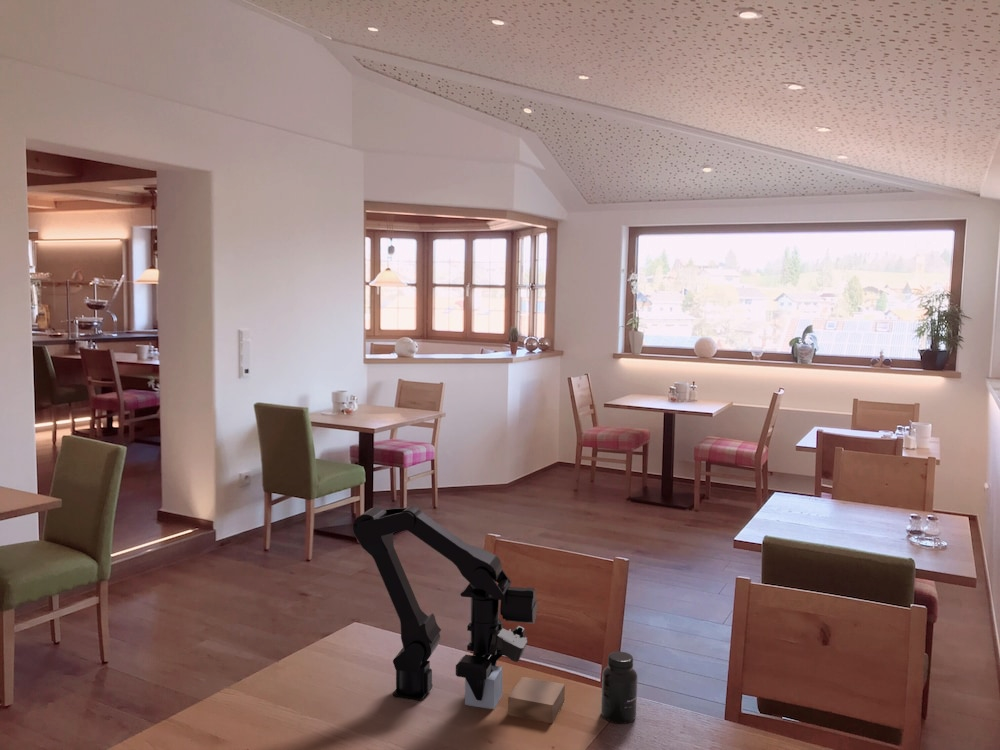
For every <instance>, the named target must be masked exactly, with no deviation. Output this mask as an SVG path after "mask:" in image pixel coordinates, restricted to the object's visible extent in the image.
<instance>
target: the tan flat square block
mask: <svg viewBox="0 0 1000 750" xmlns="http://www.w3.org/2000/svg"><path fill="white" fill-rule="evenodd" d="M565 692H566V684H565V683H560V682H555V681H548V680H543V679H536V678H532V677H526V676H522V677H521V678H520V679H519V681H518V682H517V684H515V687H513V689H512V691H511V692H510V693H509V695H508V697H507V715H508V716H510V717H511V716H512V717H516V718H522V719H527V720H531V719H532V721H536V720H537V722H542V721H543V723H548V724H553V723H554V721H555V719H556V718H557V716H558V714H559V713H558V712H560V711H559V710H561V709H562V707H563V705H564V704H565V702H564V701H565V700H566V698H565V695H566V694H565ZM563 703H564V704H563Z"/></svg>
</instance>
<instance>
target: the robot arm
mask: <svg viewBox="0 0 1000 750" xmlns="http://www.w3.org/2000/svg"><path fill="white" fill-rule="evenodd" d="M351 527H352V533H353V536H354V537H355V538H356V540H357V541H358V543H359V545H360V546H361V548H362V549H363V550H364V551H365V552H367V554H368V555H370V556H371V558H372V559H373V560H374V563H375V566H376V568H377V571H378V573H379V575H380V578H381V579H382V581H383V584H384V587H385V589H386V591H387V594H388V596H389V598H390V600H391V603H392V606H393V608H394V609H395V610H394V611H395V612H396V615H397V617H398V619H399V624H400V640H401V643H402V648H401V649H400V650H399V652H398V653H397V654H396V655H395V657H394V658H393V659H392V663H393V665H394V668H395V677H396V678H395V686H396V687H395V690H394V691H393V692H392V696H394V697H400V698H406V699H412V700H417V701H423V699H424V698H425V697H426V695H427V694H428V693H429V692H430V691H431V689H432V688H433V670H432V668H431V667H430V665H431V663H430V662H431V661H430V660H429V659H430V658H431V656H432V655H433V653H434V652H435V650H437V647H438V646H439V643H440V640H441V635H440V632H441V631H442V629H441V628H440V626H439V625H438V624H437V619H436V615H435V614H434V613H430V614H429V615H427V614H426V613H425V612H424V611H423V610H422V609H421V607H420V605H419V603H418V600H417V598H416V595H415V593H414V590H413V588H412V586H411V584H410V581H409V580H408V577H407V574H406V572H405V570H404V568H403V565H402V563H401V561H400V558H399V556H398V554H397V552H396V549H395V545H394V533H397V532H401V531H408V532H409V533H410V534H412V536H415V537H416V538H418V539H419V540H420V541H422V542H423V543H425V544H426V545H427V546H429V547H430V548H432V549H433V550H435V551H436V552H437V553H439V554H440V555H441V556H443V557H444V558H446V559H448V561H450V562H451V563H453V564H454V565H455V567H456V568H457V569H458V571H459V573H460V574H461V576H462V577H463V578H464V579H465V580H466V581H467V582H468V584H467V585H466V586H465V587H464V588H463V590H461V592H460V594H459V595H460V597H463V598H470V622H469V623H468V624H467V627H466V628H467V629H466V631H469V632H470V633H469V635H470V637H469V640H470V641H469V643H468V644H467V645H466V647H467V648H466V651H468V652H473V653H472V655H471V654H464V655H463V656H462V657H461V658H460V659H459V661H458V662H457V663H456V664H455V675H456V677H458V678H463V679H465V678H466V680H467V682H468V684H469V686H470V688H471V690H472V692H473V694H474V696H475V698H476V700H479V701H481V700H482V698H483V692H484V687H485V681H486V679H487V678H488V677H489V676H490V674H491V673H492V671H493V670H492V669H491V666H497V663H498V660H499V659H500V658H501V657H502V656H504V657H506V658H508V659H510V661H512V662H515V663H518V662H519V661H520V659H521V657H522V656H523V654H524V651H525V649H526V647H527V644H528V637H526V629H525V628H524V627H523V626H521V625H517V626H516V627H515V628H514V629H511V628H510V629H507V628H504V622H502V619H503V620H505V621H506V622H512V623H513V622H514V623H524V624H531V625H532V624H534V625H535V623H536V618H537V613H538V612H537V611H538V600H537V595H536V588H535V587H531V586H530V587H518V586H511V585H512V581H511V579H509V577H508V575H507V574H506V572H505V571H504V570H503V566H502V563H501V559H500V558H499V557H498V556H497V555H496V554H495V553H493V552H490V551H488V550H486V549H484V548H482V547H478V546H474V545H470V544H468V543H467V542H465V541H463V540H462V539H461V538H459V537H458V536H456V535H455V534H454V533H452V531H451V532H450V531H449V530H448V529H446V528H445V527H444V526H442V525H441V524H439V523H438V522H436V520H434V519H432V518H431V517H430V516H428V515H426V514H425V513H423V512H422V510H421V509H420V508H419V507H417V506H412V505H409V506H408V507H407V506H406V507H393V508H389V509H388V508H386V509H383V508H381V507H371V508H369V509H367V510H366V511H365V512H363V513H361V514H360V515H359V516H357V517H356V518H355V520H354V521H353V524H352V526H351ZM497 583H498V584H497ZM500 615H501V616H502V619H500Z"/></svg>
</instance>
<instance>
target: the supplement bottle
mask: <svg viewBox="0 0 1000 750" xmlns="http://www.w3.org/2000/svg"><path fill="white" fill-rule="evenodd" d="M601 676H602V677H601V705H600V707H601V708H600V712H601V715H602V717H603V718H604V719H605V720H607V721H609V722H610V723H611V722H612V723H615V724H626V723H627V724H628V723H630V722H633V721H634V720H635V719H636V716H637V705H638V704H637V699H638V678H639V677H638V673H637V671H636V670H635V669H634V657H633V655H632V654H630V653H628V652H625V651H613V652H610V653H609V654H608V655H607V666H606V667H604V669H603V671H602V675H601Z"/></svg>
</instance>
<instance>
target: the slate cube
mask: <svg viewBox="0 0 1000 750" xmlns="http://www.w3.org/2000/svg"><path fill="white" fill-rule="evenodd" d="M491 669H492V670H493V671H492V673H491V674H490V676H489V677H488V678H487V679H486V681H485V687H484V692H483V698H482V700H481V701H479V700H476V698H475V696H474V694H473V692H472V690H471V688H470V686H469V684H468V682H467V680H466V678H464V679H465V680H464V681H465V683H464V692H465V693H464V694H465V695H464V705H465V706H470V707H477V708H481V709H482V708H483V709H488V710H495V708H496V707H497V705H498V703H499V701H500V699H501V698H502V696H503V666H497V665H496V666H491Z"/></svg>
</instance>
